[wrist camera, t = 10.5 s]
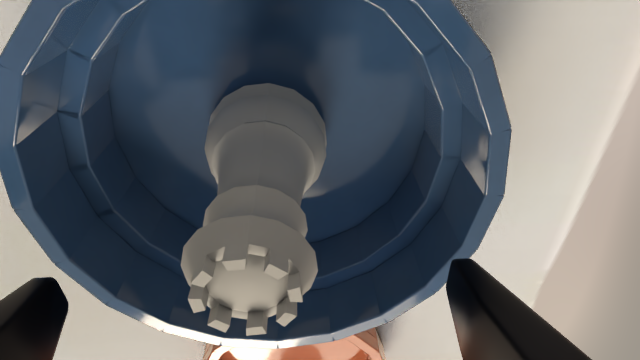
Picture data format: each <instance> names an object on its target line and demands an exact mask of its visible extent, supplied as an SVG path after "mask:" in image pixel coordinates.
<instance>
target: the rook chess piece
mask: <svg viewBox="0 0 640 360" xmlns="http://www.w3.org/2000/svg"><path fill="white" fill-rule="evenodd" d="M326 145H327V140H326V130H325V123H324V121H323V119H322V118H321V116H320V114H319V113H318V111H317V109H316V108H315V106H314V104H313V103H311V102H310V101H309V100H307V99H306V98H305V97H303V96H302V95H301V94H299V93H298V92H297V91H295V90H294V89H290V88H286V87H282V86H279V85H275V84H271V83H265V84H256V85H247V86H243V87H241V88H240V89H238V90H236V91H234V92H233V93H231V94H229V95H227V96H225V97H224V98H223V99H222V100H221V102H220V103H219V105H218V106H217V107H216V109H215V110H214V112H213V113H212V114H211V116H210V122H209V126H208V130H207V136H206V142H205V154H206V157H207V160H208V164H209V167H210V170H211V173H212V175H213V176H214V177H215V179H216V182H217V183H218V193H217V196H216V198H215V199H214V200H213V201H212V202H211V204H210V205H209V206H208V207H207V209H206V210H205V216H204V221H203V227H202V228H200V229H198V230H197V231H196V232H195V233H194V234H193V236H192V237H191V238H190V239H189V240H188V242H187V243H186V244H185V245H184V247H183V253H182V260H181V268H182V270H183V273H184V275H185V278H186V280H187V283H188V285H189V286H190V287H191V288H190V292H189V295H188V301H189V303H190V306H191V308H192V310H193V313H196V312H201V311H205V310H206V306H208V307H209V308H210V309H211V310H210V314H209V319H208V323H207V325H208V326H211V327H213V328H215V329H218V330H220V331H222V332H225V333H226V331H227V329H228V328H229V326H230V322H231V317H234V318H240V319H247V324H246V336H249V335H259V334H267V321H268V317H271V316H273V315H276V322H278V323H279V324H281V325H282V326H284V327H285V326H286V325H287V324H288V323H289V322H291V321H292V320H293V319H294V318H295V317H296V316H297V302H303V295H304V294H305V293H306V292H307V291H308V290H309V289H310V288H311V286H312V284H313V282H314V279H315V277H316V274H317V272H318V268H317V261H316V254H315V251H314V250H313V248H312V247H311V246H310V244H309V243H308V242H307V240H306V239H305V236H306V233H307V231H308V229H307V222H306V216H305V213H304V212H303V211H302V209H301V208H300V206H301V201H302V197H303V194H304V193H305V192H306V191H307V190H308V189H309V188H310V187H311V185H312V184H313V183H314V182H315V181H316V180H317V179H318V177H319V175H320V172H321V169H322V167H323V164H324V161H325V158H326Z"/></svg>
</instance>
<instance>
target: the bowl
mask: <svg viewBox="0 0 640 360" xmlns="http://www.w3.org/2000/svg"><path fill="white" fill-rule="evenodd" d="M265 83H271V84H275V85H279V86H282V87H286V88H290V89H294V90H295V91H297V92H298V93H299V94H301V95H302V96H303V97H305V98H306V99H307V100H309V101H310V102H311V103H313V104H314V106H315V108H316V109H317V111H318V113H319V114H320V116H321V118H322V119H323V121H324V123H325V130H326V140H327V145H326V158H325V161H324V164H323V167H322V169H321V172H320V175H319V177H318V179H317V180H316V181H315V182H314V183H313V184H312V185H311V187H310V188H309V189H308V190H307V191H306V192H305V193H304V194H303V197H302V201H301V206H300V208H301V209H302V211H303V212H304V213H305V216H306V222H307V229H308V231H307V233H306V236H305V239H306V240H307V242H308V243H309V244H310V246H311V247H312V248H313V250H314V251H315V254H316V261H317V268H318V272H317V274H316V277H315V279H314V282H313V284H312V286H311V288H310V289H309V290H308V291H307V292H306V293H305V294H304V295H303V302H297V316H296V317H295V318H294V319H293V320H292V321H291V322H289V323H288V324H287V325H286V326H285V327H284V326H282V325H281V324H279V323H278V322H276V315H273V316H271V317H268V321H267V334H259V335H249V336H246V324H247V319H240V318H234V317H231V322H230V326H229V328H228V329H227V331H226V333H225V332H222V331H220V330H218V329H215V328H213V327H211V326H208V325H207V323H208V319H209V314H210V310H211V309H210V308H209V307H208V306H206V310H205V311H201V312H196V313H193V310H192V308H191V306H190V303H189V301H188V295H189V292H190V288H191V287H190V286H189V285H188V283H187V280H186V278H185V275H184V273H183V270H182V268H181V260H182V253H183V247H184V245H185V244H186V243H187V242H188V240H189V239H190V238H191V237H192V236H193V234H194V233H195V232H196V231H197V230H198V229H200V228H202V227H203V221H204V216H205V210H206V209H207V207H208V206H209V205H210V204H211V202H212V201H213V200H214V199H215V198H216V196H217V193H218V183H217V182H216V179H215V177H214V176H213V175H212V173H211V170H210V167H209V164H208V160H207V157H206V154H205V142H206V136H207V130H208V126H209V122H210V116H211V114H212V113H213V112H214V110H215V109H216V107H217V106H218V105H219V103H220V102H221V100H222V99H223V98H224V97H225V96H227V95H229V94H231V93H233V92H234V91H236V90H238V89H240V88H241V87H243V86H247V85H256V84H265ZM511 131H512V130H511V124H510V120H509V116H508V113H507V109H506V105H505V102H504V98H503V94H502V91H501V87H500V83H499V80H498V76H497V72H496V69H495V65H494V61H493V58H492V55H491V52H490V51H489V49H488V48H487V47H486V45H485V44H484V43H483V42H482V40H481V39H480V38H479V36H478V35H477V34H476V32H475V31H474V30H473V28H472V27H471V26H470V24H469V23H468V22H467V21H466V19H465V18H464V17H463V15H462V14H461V13H460V11H459V10H458V9H457V7H456V6H455V5H454V4H453V2H452V1H451V0H31V2H30V4H29V6H28V7H27V9H26V11H25V13H24V14H23V16H22V18H21V20H20V21H19V23H18V25H17V27H16V28H15V30H14V32H13V34H12V35H11V37H10V39H9V41H8V42H7V44H6V46H5V48H4V49H3V51H2V53H1V55H0V172H1V176H2V179H3V182H4V185H5V188H6V191H7V194H8V197H9V200H10V203H11V206H12V208H13V209H14V211H15V213H16V214H17V216H18V217H19V218H20V220H21V221H22V222H23V224H24V225H25V226H26V228H27V229H28V230H29V232H30V233H31V234H32V236H33V237H34V238H35V240H36V241H37V242H38V244H39V245H40V246H41V248H42V249H43V250H44V252H45V253H46V255H47V256H48V257H49V259H50V260H51V261H52V263H55V266H57V267H58V268H59V269H60V270H62V271H63V272H64V273H66V274H67V275H68V276H69V277H71V278H72V279H73V280H74V281H76V282H77V283H78V284H80V285H81V286H82V287H83V288H85V289H86V290H87V291H88V292H90V293H91V294H92V295H93V296H95V297H96V298H97V299H99V300H100V301H101V302H102V303H104V304H105V305H106V306H108V307H110V308H113V309H115V310H117V311H119V312H121V313H123V314H125V315H127V316H129V317H131V318H134V319H136V320H138V321H140V322H142V323H144V324H146V325H148V326H150V327H153V328H155V329H157V330H159V331H162V332H165V333H169V334H173V335H177V336H181V337H185V338H189V339H193V340H197V341H201V342H205V343H209V344H213V345H217V346H220V345H221V346H230V347H248V348H267V349H278V348H279V349H283V348H290V347H297V346H305V345H312V344H319V343H327V342H333V341H334V340H335V341H337V340H340V339H343V338H346V337H349V336H352V335H355V334H357V333H360V332H363V331H366V330H369V329H372V328H375V327H378V326H380V325H383V324H386V323H388V322H390V321H392V320H394V319H395V318H397V317H398V316H400V315H402V314H403V313H405V312H406V311H408V310H410V309H411V308H413V307H414V306H416V305H418V304H419V303H421V302H422V301H424V300H426V299H427V298H429V297H430V296H432V295H434V294H435V293H436V292H438V291H439V290H440V289H441V288H442V287H443V285H444V284H445V283H446V282H447V278H448V274H449V269H450V265H451V262H452V260H453V259H463V258H470V257H471V256H472V255H473V254H474V253H475V252H476V250H477V249H478V248H479V246H480V244H481V242H482V240H483V238H484V236H485V233H486V231H487V229H488V227H489V225H490V223H491V221H492V219H493V217H494V215H495V213H496V211H497V209H498V207H499V205H500V203H501V201H502V199H503V197H504V192H505V184H506V175H507V166H508V157H509V148H510V140H511Z"/></svg>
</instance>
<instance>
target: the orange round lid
mask: <svg viewBox="0 0 640 360" xmlns="http://www.w3.org/2000/svg"><path fill="white" fill-rule="evenodd" d="M203 360H386V359H385V354H384V349H383V345H382V343H381V340H380V338H379V335H378V333H377V331H376V328H372V329H369V330H366V331H363V332H360V333H357V334H355V335H352V336H349V337H346V338H343V339H340V340H337V341H335V340H334V341H333V342H327V343H319V344H312V345H305V346H297V347H290V348H283V349H279V348H278V349H267V348H248V347H230V346H221V345H220V346H217V345H213V344H209V343H207V344H206V347H205V351H204V356H203Z"/></svg>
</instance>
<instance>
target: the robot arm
mask: <svg viewBox="0 0 640 360" xmlns="http://www.w3.org/2000/svg"><path fill="white" fill-rule="evenodd" d="M446 291H447V296H448V300H449V304H450V309H451V313H452V317H453V321H454V325H455V329H456V334H457V338H458V342H459V346H460V350H461V354H462V357H463V360H592V359H590V358H589V357H588V356H587V355H586V354H584V353H583V352H582V351H581V350H580V349H579V348H577V347H576V346H575V345H574V344H573V343H571V342H570V341H569V340H568V339H567V338H565V337H564V336H563V335H562V334H561V333H559V332H558V331H557V330H556V329H555V328H553V327H552V326H551V325H550V324H549V323H547V322H546V321H545V320H544V319H543V318H542V317H540V316H539V315H538V314H537V313H536V312H534V311H533V310H532V309H531V308H530V307H528V306H527V305H526V304H525V303H524V302H522V301H521V300H520V299H519V298H518V297H516V296H515V295H514V294H513V293H512V292H511V291H509V290H508V289H507V288H506V287H505V286H503V285H502V284H501V283H500V282H499V281H497V280H496V279H495V278H494V277H493V276H491V275H490V274H489V273H488V272H487V271H485V270H484V269H483V268H482V267H481V266H479V265H478V264H477V263H476V262H475V261H473V260H472V259H469V258H463V259H453V260H452V262H451V265H450V269H449V274H448V278H447V283H446ZM67 313H68V301H67V299H66V297H65V295H64V293H63V291H62V289H61V288H60V286H59V284H58V282H57V281H56V280H55V279H54V278H51V277H46V278H34V279H31V280H30V281H28V282H27V283H25V284H24V285H22V286H21V287H19V288H18V289H17V290H15V291H14V292H12V293H11V294H9V295H8V296H6V297H5V298H4V299H2V300H1V301H0V360H52V359H53V356H54V353H55V350H56V347H57V344H58V341H59V338H60V335H61V331H62V328H63V325H64V322H65V319H66V316H67Z"/></svg>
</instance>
